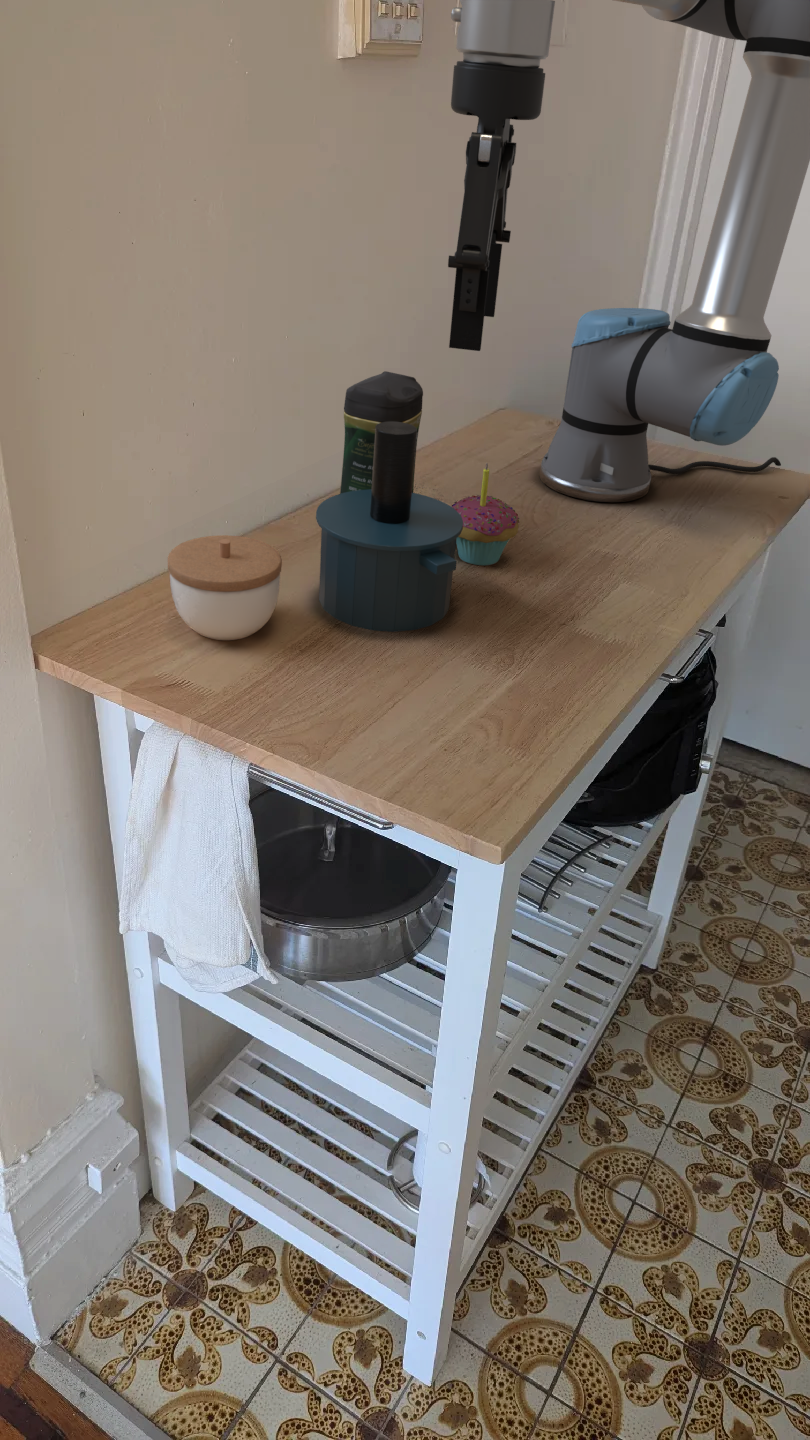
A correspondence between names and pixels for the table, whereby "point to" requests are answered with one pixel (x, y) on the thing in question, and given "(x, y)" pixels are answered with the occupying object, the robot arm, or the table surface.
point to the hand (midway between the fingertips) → (472, 331)
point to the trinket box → (225, 584)
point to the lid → (390, 502)
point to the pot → (385, 585)
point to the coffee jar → (375, 422)
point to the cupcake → (484, 526)
